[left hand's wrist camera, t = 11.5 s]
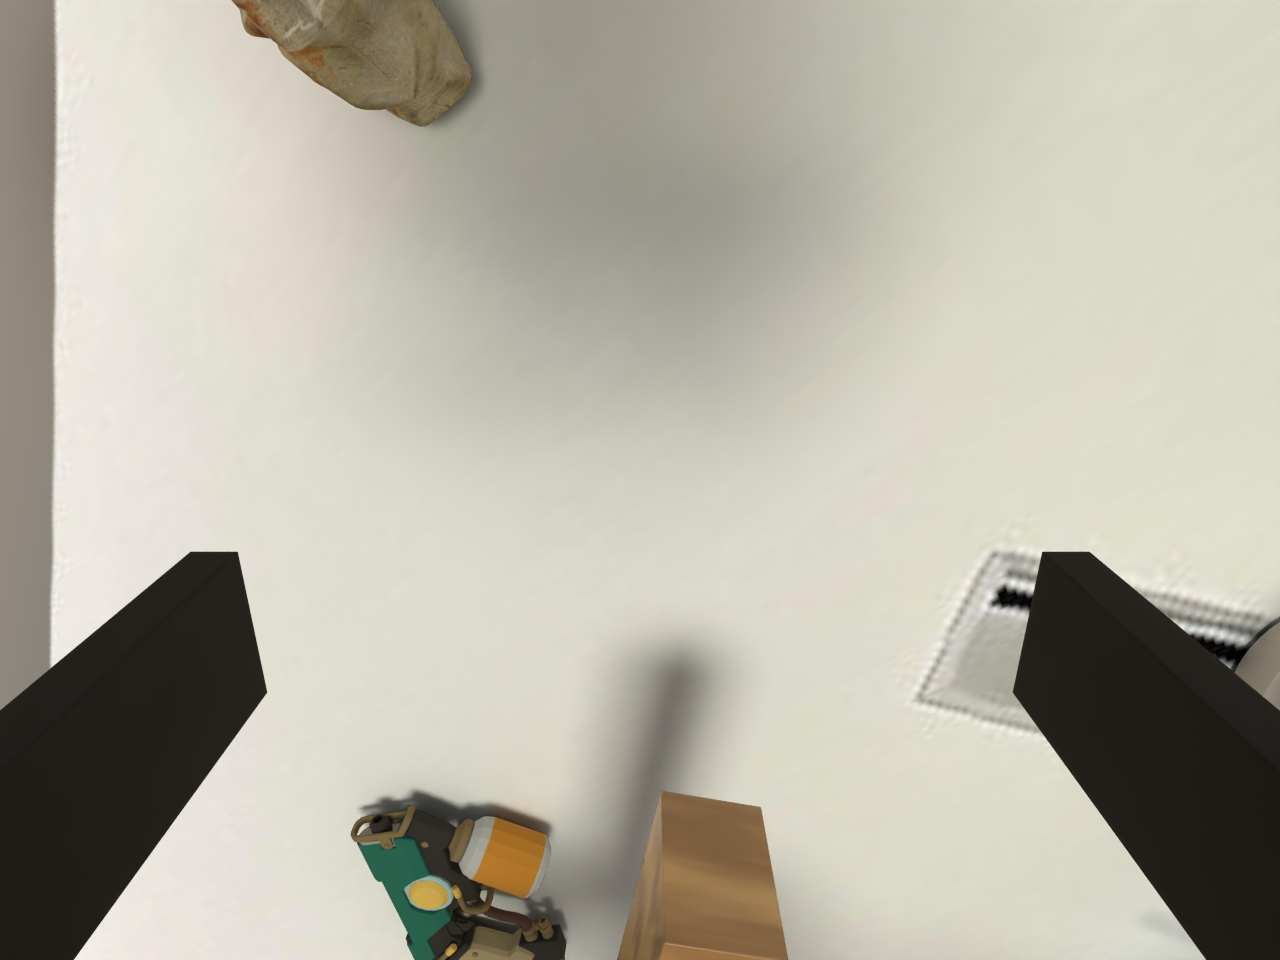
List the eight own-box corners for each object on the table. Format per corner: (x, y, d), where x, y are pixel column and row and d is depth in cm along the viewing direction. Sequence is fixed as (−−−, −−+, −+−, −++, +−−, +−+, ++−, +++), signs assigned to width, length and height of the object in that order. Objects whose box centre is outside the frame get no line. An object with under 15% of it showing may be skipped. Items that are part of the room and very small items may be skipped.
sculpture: (408, -64, 36) (262, -216, 22) (504, 78, 38) (427, 22, 24) (316, 18, 37) (123, -78, 23) (414, 151, 39) (291, 137, 26)
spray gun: (567, 954, 61) (379, 938, 62) (574, 800, 54) (361, 783, 55) (560, 1010, 58) (359, 993, 58) (566, 852, 51) (337, 833, 51)
